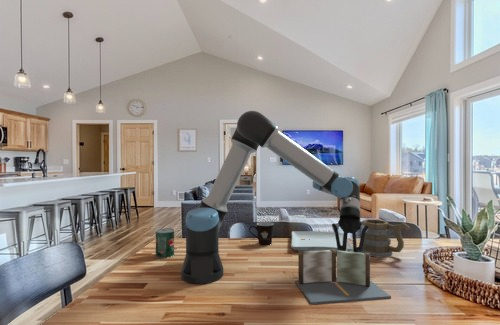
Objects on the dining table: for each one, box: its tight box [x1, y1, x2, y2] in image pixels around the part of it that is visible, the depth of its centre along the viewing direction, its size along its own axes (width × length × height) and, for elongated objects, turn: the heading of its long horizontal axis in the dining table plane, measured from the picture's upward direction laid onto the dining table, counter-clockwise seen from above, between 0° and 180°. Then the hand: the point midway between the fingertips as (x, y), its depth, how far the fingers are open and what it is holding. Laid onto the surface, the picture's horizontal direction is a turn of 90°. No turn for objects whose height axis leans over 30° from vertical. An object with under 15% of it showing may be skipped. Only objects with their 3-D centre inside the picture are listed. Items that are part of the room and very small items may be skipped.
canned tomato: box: [155, 227, 175, 259], centre depth 121 cm, size 8×8×11 cm
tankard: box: [361, 218, 411, 258], centre depth 121 cm, size 20×13×15 cm, turn 44°
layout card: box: [294, 276, 392, 305], centre depth 88 cm, size 25×15×1 cm, turn 98°
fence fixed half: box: [297, 249, 337, 284], centre depth 92 cm, size 13×2×10 cm, turn 98°
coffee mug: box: [248, 221, 275, 246], centre depth 138 cm, size 12×9×10 cm
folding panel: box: [336, 250, 371, 286], centre depth 90 cm, size 10×2×10 cm, turn 70°
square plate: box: [290, 230, 353, 254], centre depth 135 cm, size 27×27×4 cm
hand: (349, 269), depth 93 cm, fingers closed, pressing on folding panel
